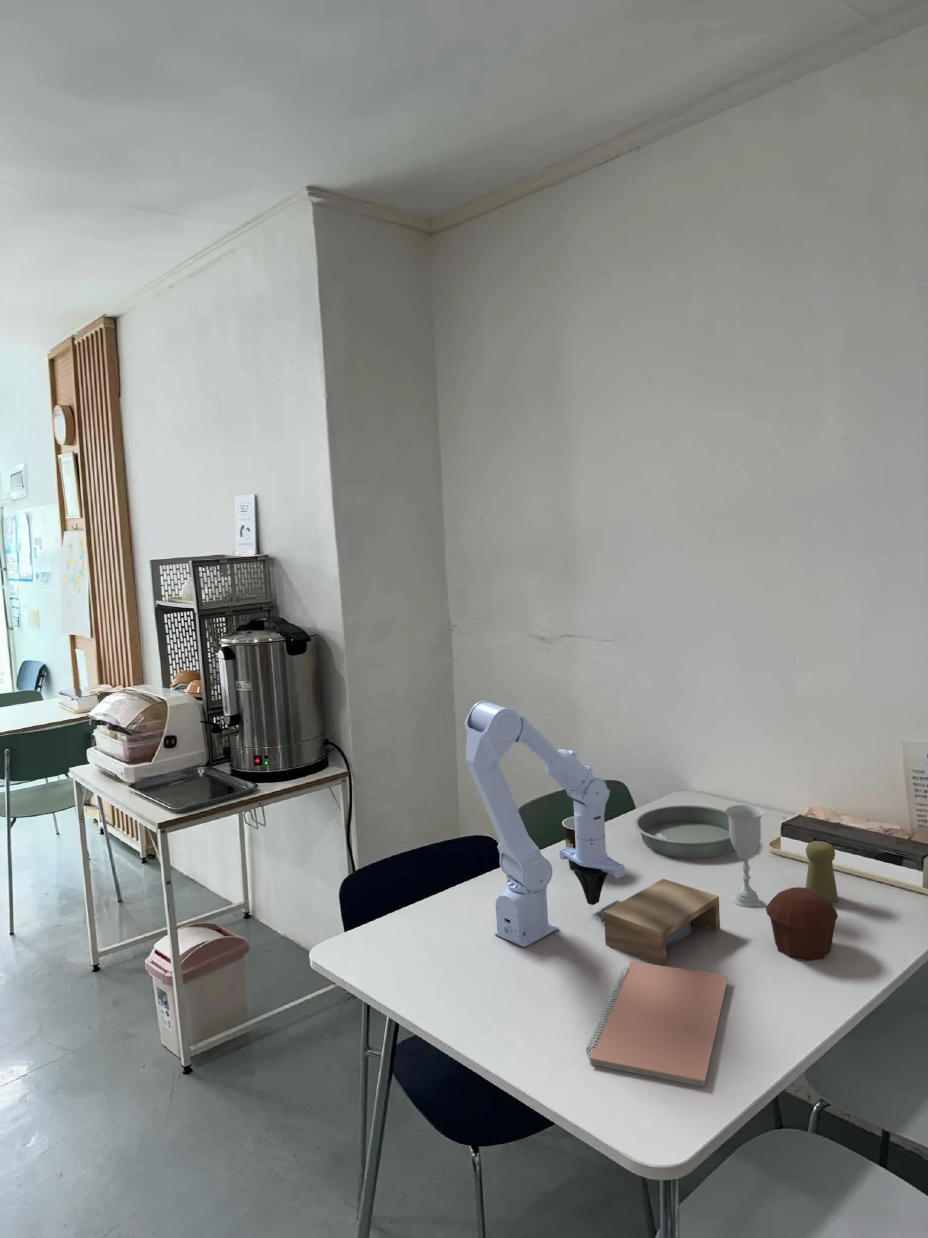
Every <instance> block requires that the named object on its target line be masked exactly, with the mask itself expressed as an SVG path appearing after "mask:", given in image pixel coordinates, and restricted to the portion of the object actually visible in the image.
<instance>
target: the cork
mask: <svg viewBox="0 0 928 1238" xmlns="http://www.w3.org/2000/svg"><path fill="white" fill-rule="evenodd" d="M835 850H836V849H835V848H834V846H833V845H832V844H830V843H829V842H827V841H826V842H825V841H821V840H813V841H811V842H809V843H808V844H807V846H806V847H805V854H806V857H807V860H808V863H807V865H808V866H807V873H806V881H805V888H808V889H812V890H814V891H817V892H819V893H820V894H822V895H823V896H824V897H826V898H827V899H828V900H829V901H830V902H831V903H832V905H833V906H834V905H835V904H837V903H838V902H839V896H838V890H837V884H836V877H835V872H834V865H833V861H834V860H835V857H836V851H835Z"/></svg>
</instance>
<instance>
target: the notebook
mask: <svg viewBox="0 0 928 1238" xmlns="http://www.w3.org/2000/svg"><path fill="white" fill-rule="evenodd" d="M728 976H729V975H727V974H719V973H712V972H707V971H698V970H692V969H685V968H678V967H673V966H667V965H666V966H659V965H654V964H652V963H647V962H646V963H644V962H638V961H630V962H629V964H628V966H624V967H622V968H621V971H620V973H619V975H618V977H617V980H616V982H615V983H614V987H613V988H612V990H611V992H610V995H609V997H608V999H607V1001H606V1003H605V1007H604V1008H603V1011H602V1013H601V1015H600V1017H599V1020H598V1022H597V1024H596V1026H595V1029H594V1030H593V1032H592V1035H591V1038H590V1040H589V1041H588V1044H587V1046H586V1048H585V1051H586V1055H589V1056H588V1060H589V1065H593V1066H597V1067H598V1066H599V1067H603V1068H608V1069H613V1070H617V1071H621V1072H622V1071H623V1072H628V1073H633V1074H639V1075H643V1076H648V1077H653V1078H657V1079H662V1080H667V1081H673V1082H677V1083H683V1084H687V1085H693V1086H698V1087H703V1088H704V1087H705V1085H706V1084H705V1083H706V1079H707V1075H708V1072H709V1071H708V1070H709V1065H710V1060H711V1057H712V1052H713V1048H714V1042H715V1039H716V1038H715V1037H716V1033H717V1030H718V1024H719V1021H720V1020H719V1019H720V1015H721V1011H722V1005H723V1002H724V998H725V997H724V996H725V993H726V987H727V984H728V979H729V977H728ZM590 1049H591V1052H590ZM589 1052H590V1053H589Z"/></svg>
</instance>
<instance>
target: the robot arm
mask: <svg viewBox="0 0 928 1238" xmlns="http://www.w3.org/2000/svg"><path fill="white" fill-rule="evenodd" d="M464 727H465V729H466V747H465V762H466V765H467V768H468V770H469V772H470V775H471V777H472V779H473V782H474V784H475V786H476V789H477V792H478V793H479V796H480V798H481V800H482V803H483V805H484V808H485V809H486V812H487V814H488V818H489V819H490V821H491V824H492V826H493V827H494V831H495V832H496V835H497V837H498V840H499V843H498V845H497V847H496V848H497V850H498V853H499V866H500V869H501V871H502V872H503V873H504V874H506V883H507V885H506V887H505V888H506V889H504V891H503V893H501V894H500V895H499V896H498V897H497V899H496V900H495V917H496V929H495V930H494V932H493V933H494V935H495V936H496V935H497V936H498V937H500V938H503V939H505V940H507V941H508V942H509V941H510V942H512V943H514V944H516V945H518V946H521V947H523V948H526V947H529V946H530V945H531V944H533V943H535V942H537V941H539V940H540V939H542V938H544V937H546V936H548V935H549V934H552V933H553V932H556V931H558V929H559V926H558V924H554V923H553V922H549V913H548V912H549V909H548V898H547V897H548V896H547V895H548V894H547V889H548V884H549V883H550V882H551V880H552V877H553V865H552V864H551V862H550V861H549V859H548V858H547V857H545V856H543V854H542V852H541V850H540V848H539V847H538V845H536V843H535V842H534V841H533V839H532V838H531V837H530V835H529V834H528V831H527V829H526V827H525V824H524V821H523V818H522V817H521V815H520V811H519V809H518V807H517V805H516V802H515V800H514V797H513V795H512V794H511V791H510V788H509V786H508V784H507V781H506V779H505V776H504V774H503V771H502V769H501V767H500V764H499V763H500V760H501V758H502V757H503V756H504V755H505V754H506V753H507V751H509V749H510V748H511V746H512V745H513V744H514V742H515V743H518V744H521V745H522V746H524V747H525V748H526V749H528V750H529V751H531V753H533V754H534V755H535V756H537V758H539V759H540V760H542V762H544V763H545V766H544V767H545V773H547V775H548V776H549V777H551V779H553V780H554V781H555V782H556V783H557V784H558V785H560V786H561V787H562V788H563V789H564V790H566V794H567V796H568V797H569V798H572V799H573V800H572V802H573V817H574V821H575V842H576V849H574V848H569V847H566V846H564V847H562V848H561V849H559V859H560V860H562V861H564V860H565V861H566V860H571V861H574V862H575V863H577V864H578V867H577V868H575V869H574V871H573V874H574V875H575V877H576V878H577V880H578V881H579V883H580V885H581V888H582V890H583V893H584V897H585V899H586V903H587V904H588V905H591V906H595V905H596V904H598V903H599V902H600V899H601V893H602V890H603V886H604V884H605V883H604V882H605V880H606V879H607V877H608V874H610V875H614V876H613V877H615V878H618V879H620V878H621V877H623V876H625V875H626V869H625V864H623V863H620V862H618V861H616V859H613V858H612V857H609V856H608V852H607V851H606V850H607V849H606V847H607V846H606V828H605V826H606V825H605V823H606V822H605V812H606V804H607V802H608V801H609V797H610V792H611V790H610V789H608V786H607V783H606V781H604V779H603V778H601V777H598V776H596V775H593V773H592V771H593V769H592V768H591V767H590V766H588V765H584V764H583V763H582V762H581V761H580V760H579V759H577V756H578V755H577V753H576V752H574V751H573V750H571V749H569V750H567V749H566V748H565V749H564V748H560V749H557V748H556V747H555V746H554V745H553V744H552V743H551V742H550V741H549V740H548V739H547V738H546V737H545V736H544V735H543V734H542V733H541V732H540V731H539V730H538V728H536V727H535V726H534V725H533V724H532V723H531V722H530V721H529V720H528V719H527V718H526V717H524V716H523V715H520V714H519V713H518V711H516V710H515V709H512V708H509V707H504V706H501V705H497V704H495V703H494V702H492V701H489V700H481V701H478V702H476V703H475V704H474V705H472V707H471V708H470V710H469V712H468V714H467V716H466V718H465V721H464Z"/></svg>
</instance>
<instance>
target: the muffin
mask: <svg viewBox="0 0 928 1238" xmlns="http://www.w3.org/2000/svg"><path fill="white" fill-rule="evenodd" d="M765 910H766V914H767V916H768V917H769V919H770V923H771V928H772V934H773V939H774V944H775V946H776V948H777V949H776V950H777V952H779V953H782V954H784V955H785V956H786V957H788V958H790V959H796V960H801V961H806V962H809V961H810V962H811V961H814V960H815V961H816V960H824V959H825V958H826V956H828V955H829V954H830V953H831V951H832V944H833V939H834V934H835V927H836V921H837V919H838V917H839V915H838V913H837V909H836V908H835V906H834V904H833V905H832V903H831V902H830V901H829V900H828V899H827V898H826V897H824V896H823V895H822V894H820V893H819V892H817V891H814V890H812V889H808V888H806V887H801V886H799V887H798V886H797V887H790V888H787V889H785V890H782V891H780V892H778V893H777V894H776V895H775V896H774V897H772V899H771V900H770V901H769V902H768V903H767V905H765Z"/></svg>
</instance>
